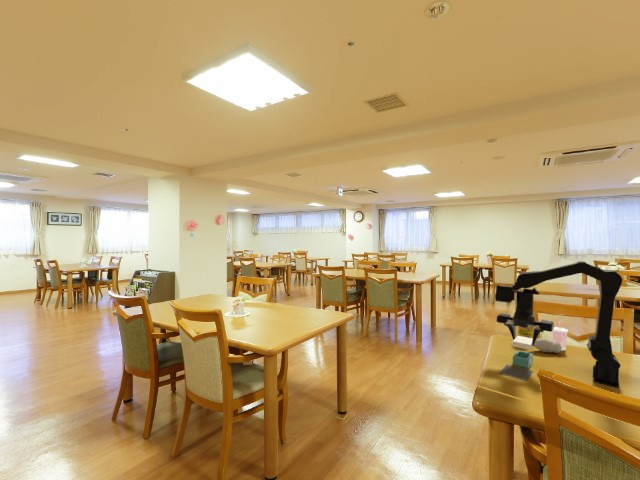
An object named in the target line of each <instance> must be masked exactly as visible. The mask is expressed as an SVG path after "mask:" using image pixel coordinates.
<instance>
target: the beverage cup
mask: <svg viewBox="0 0 640 480" xmlns="http://www.w3.org/2000/svg"><path fill="white" fill-rule="evenodd" d="M561 319H562V318H561V317H559V319H558V321H559V323H558V326H554V329H553V330H552V332H551V336H552V337H551V338H552V341H553V342H556V343H558V344H560V346H561V351H566V349H567V347H566V346H567V341H568V340H567V338H568V333H569V329H567V328H565V327H561V324H562V323H561V321H562V320H561Z"/></svg>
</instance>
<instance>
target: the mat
mask: <svg viewBox="0 0 640 480" xmlns="http://www.w3.org/2000/svg"><path fill="white" fill-rule="evenodd" d="M533 373H534V371H533V370H529V369H527V368H523V367H519V366H515V365H510V364H505V366H503V368H502V369H501V370H500V372H498V374H499V375H502V376H507V377H511V378H513V379H517V380H520V381H524V382H528V380H530V378H531V376H532V374H533Z"/></svg>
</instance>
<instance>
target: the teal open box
mask: <svg viewBox="0 0 640 480" xmlns="http://www.w3.org/2000/svg"><path fill="white" fill-rule="evenodd" d="M533 363H534V353H531V352H526V351H523V350H519V349H518V350H517V351H516V352H515V353H514V354H513V355H512V366H515V367H518V368H522V369H526V370H529V369H530V367H531V366H532V365H533Z"/></svg>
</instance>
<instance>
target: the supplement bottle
mask: <svg viewBox="0 0 640 480" xmlns="http://www.w3.org/2000/svg"><path fill="white" fill-rule="evenodd" d="M535 328H536V327H535V326H532V325H528V327H526V328H524V327H521V326H517V336H522V337H527V338H532V339H533V334H534V329H535Z"/></svg>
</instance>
